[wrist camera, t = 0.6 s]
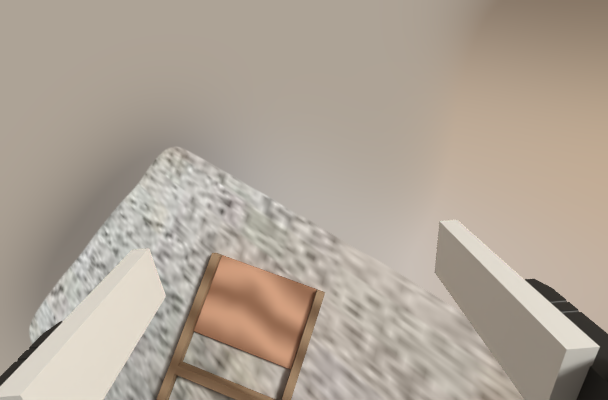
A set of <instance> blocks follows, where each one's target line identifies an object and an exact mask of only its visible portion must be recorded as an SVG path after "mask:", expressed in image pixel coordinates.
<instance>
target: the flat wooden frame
mask: <svg viewBox="0 0 608 400" xmlns="http://www.w3.org/2000/svg"><path fill="white" fill-rule="evenodd" d="M316 290H317V289H315V288H312V287H309V286H306V285H304V284H301V283H298V282H295V281H293V280H290V279H287V278H284V277H281V276H279V275H276V274H273V273H270V272H268V271H265V270H262V269H259V268H257V267H254V266H251V265H248V264H246V263H243V262H240V261H237V260H234V259H232V258H229V257H226V256H223V255H221V254H218V253H212V255H211V258H210V260H209V263H208V265H207V268H206V271H205V273H204V276H203V279H202V281H201V284H200V286H199V289H198V292H197V294H196V297H195V300H194V302H193V305H192V307H191V310H190V313H189V315H188V318H187V321H186V323H185V326H184V328H183V331H182V334H181V336H180V339H179V342H178V344H177V347H176V349H175V352H174V355H173V357H172V360H171V363H170V365H169V368H168V370H167V373H166V376H165V378H164V381H163V384H162V386H161V389H160V391H159V394H158V397H157V399H156V400H169V397H170V394H171V392H172V389H173V386H174V384H175V381H176V378H177V376H180V377H183V378H185V379H188V380H190V381H192V382H195V383H197V384H200V385H202V386H204V387H207V388H209V389H212V390H214V391H216V392H219V393H221V394H224V395H226V396H228V397H231V398H233V399H236V400H275V399H273V398H270V397H268V396H265V395H263V394H261V393H258V392H256V391H253V390H251V389H248V388H246V387H243V386H241V385H239V384H236V383H234V382H231V381H229V380H226V379H224V378H221V377H219V376H217V375H214V374H212V373H209V372H207V371H204V370H202V369H200V368H197V367H195V366H192V365H190V364H187V363H185V362H183V360H184V357H185V354H186V352H187V349H188V346H189V344H190V341H191V338H192V336H193V333H194V331H195V332H197V333H200V334H203V335H205V336H208V337H210V338H213V339H215V340H218V341H220V342H223V343H225V344H228V345H230V346H233V347H235V348H238V349H240V350H243V351H245V352H248V353H251V354H253V355H256V356H258V357H261V358H263V359H266V360H268V361H271V362H273V363H276V364H278V365H281V366H283V367H286V368H288V369H291V367H292V369H291V372H290V375H289V378H288V381H287V384H286V387H285V390H284V393H283V396H282V400H291V398H292V394H293V391H294V388H295V385H296V382H297V379H298V376H299V373H300V369H301V366H302V363H303V360H304V357H305V354H306V351H307V348H308V344H309V341H310V338H311V335H312V332H313V329H314V326H315V323H316V319H317V316H318V313H319V310H320V307H321V304H322V301H323V298H324V294H325V292H323V291H320V290H317V292H316ZM315 293H316V295H315ZM314 296H315V298H314ZM313 299H314V301H313ZM312 302H313V304H312ZM311 305H312V307H311ZM310 308H311V310H310ZM309 311H310V313H309ZM308 315H309V316H308ZM307 318H308V319H307ZM306 321H307V322H306ZM305 324H306V326H305ZM304 327H305V329H304ZM303 330H304V332H303ZM302 333H303V335H302ZM301 336H302V338H301ZM300 339H301V341H300ZM299 342H300V344H299ZM298 345H299V347H298ZM297 348H298V350H297ZM296 352H297V353H296ZM295 355H296V356H295ZM294 358H295V359H294ZM293 361H294V363H293ZM292 364H293V366H292Z"/></svg>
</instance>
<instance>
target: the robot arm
mask: <svg viewBox="0 0 608 400" xmlns="http://www.w3.org/2000/svg"><path fill="white" fill-rule="evenodd" d="M435 273H436V275H437V276H438V278H439V279H440V280H441V282H442V283H443V285H444V286H445V287H446V289H447V290H448V292H449V293H450V294H451V296H452V297H453V299H454V300H455V302H456V303H457V304H458V306H459V307H460V309H461V310H462V312H463V313H464V314H465V316H466V317H467V319H468V320H469V321H470V323H471V324H472V326H473V327H474V329H475V330H476V331H477V333H478V334H479V336H480V337H481V338H482V340H483V341H484V343H485V344H486V346H487V347H488V348H489V350H490V351H491V353H492V354H493V355H494V357H495V358H496V360H497V361H498V363H499V364H500V365H501V367H502V368H503V370H504V371H505V372H506V374H507V375H508V377H509V378H510V380H511V381H512V382H513V384H514V385H515V387H516V388H517V389H518V391H519V392H520V394H521V395H522V397H523V398H524V399H525V400H608V334H607V333H606V332H605V331H604V330H602V329H601V328H600V327H599V326H597V325H596V324H595V323H594V322H593V321H591V320H590V319H589V318H588V317H586V316H585V315H584V314H583V313H582V312H579V311H578V309H577V308H575V307H574V306H573V305H572V304H571V303H570V302H567V301H566V299H565V298H564V297H562V296H561V295H560V294H559V293H557V292H556V291H555V290H554V289H552V288H551V287H549V286H547V285H545V284H543V283H541V282H539V281H537V280H535V279H525V280H524V279H523V278H522V277H521V276H520V275H519V274H517V273H516V272H515V271H514V270H513V269H512V268H511V267H509V266H508V265H507V264H506V263H505V262H504V261H503V260H502V259H500V258H499V257H498V256H497V255H496V254H495V253H494V252H493V251H491V250H490V249H489V248H488V247H487V246H486V245H485V244H484V243H483V242H481V241H480V240H479V239H478V238H477V237H476V236H475V235H474V234H472V233H471V232H470V231H469V230H468V229H467V228H466V227H465V226H463V225H462V224H461V223H460V222H459V221H458V220H448V221H440V222H439V233H438V243H437V253H436V264H435ZM165 297H166V295H165V292H164V289H163V287H162V284H161V281H160V278H159V275H158V272H157V270H156V267H155V264H154V261H153V258H152V255H151V252H150V250H149V248H145V249H134V250H132V251H131V252H130V253H129V254H128V255H127V256H126V257H125V258H124V259H123V260H122V261H121V262H120V263H119V264H118V265H117V266H116V267H115V268H114V269H113V270H112V271H111V272H110V273H109V274H108V275H107V276H106V277H105V279H104V280H103V281H102V282H101V283H100V284H99V285H98V286H97V287H96V288H95V289H94V290H93V291H92V292H91V293H90V294H89V295H88V296H87V297H86V298H85V299H84V300H83V301H82V302H81V303H80V304H79V305H78V306H77V308H76V309H75V310H74V311H73V312H72V313H71V314H70V315H69V316H68V317H67V318H66V319H65V320H64V321H60V322H59V323H58V324H56V325H55V326H53V327H52V328H50V329H49V330H48V331H46V332H45V333H43V334H42V335H41V336H40V337H39V338H38V339H37V340H36V341H35V342H34V343H33V344H32V345H31V346H30V348H29V350H26V351H25V352H24V353H23V354H22V355H21V356H20V357H19V358H18V361H17V362H14V363H13V364H12V365H11V366H10V367H9V368H8V369H7V370H6V371H5V372H4V373H3V374H2V375H1V376H0V400H103V399H104V397H105V396H106V394H107V393H108V391H109V389H110V388H111V386H112V384H113V383H114V381H115V379H116V378H117V376H118V374H119V373H120V371H121V369H122V368H123V366H124V364H125V363H126V361H127V359H128V358H129V356H130V355H131V353H132V351H133V350H134V348H135V346H136V345H137V343H138V341H139V340H140V338H141V336H142V335H143V333H144V331H145V330H146V328H147V326H148V325H149V323H150V322H151V320H152V318H153V317H154V315H155V313H156V312H157V310H158V308H159V307H160V305H161V303H162V302H163V300H164V298H165Z"/></svg>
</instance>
